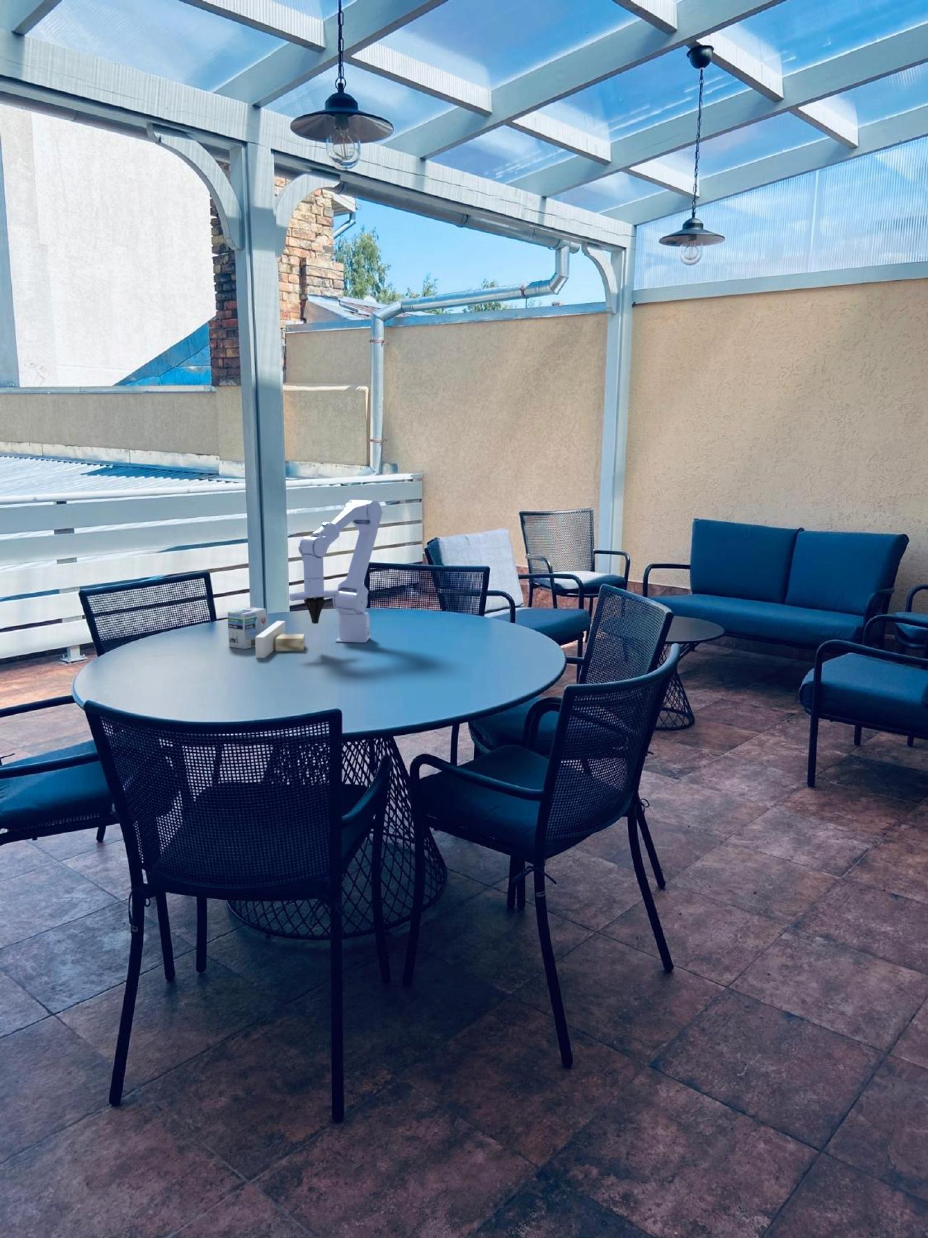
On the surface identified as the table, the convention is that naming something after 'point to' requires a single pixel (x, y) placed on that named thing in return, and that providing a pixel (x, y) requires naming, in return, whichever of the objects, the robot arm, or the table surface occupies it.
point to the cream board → (268, 639)
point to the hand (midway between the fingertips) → (315, 623)
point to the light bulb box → (245, 626)
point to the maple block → (290, 642)
